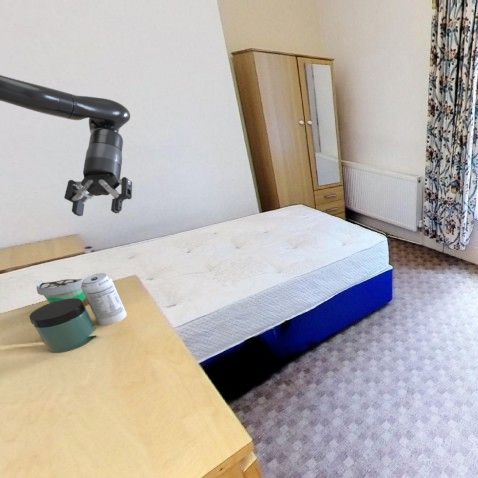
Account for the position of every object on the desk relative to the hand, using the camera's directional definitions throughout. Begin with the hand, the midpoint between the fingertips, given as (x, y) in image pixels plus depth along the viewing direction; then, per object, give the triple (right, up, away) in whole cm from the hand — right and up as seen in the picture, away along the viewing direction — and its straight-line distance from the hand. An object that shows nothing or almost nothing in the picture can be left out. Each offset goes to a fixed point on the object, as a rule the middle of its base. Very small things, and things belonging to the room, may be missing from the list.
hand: (96, 213), depth 88 cm
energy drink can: (+2, -31, +3) cm, 32 cm away
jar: (-2, -34, -4) cm, 34 cm away
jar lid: (-2, -25, -8) cm, 26 cm away
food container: (-14, -29, +7) cm, 33 cm away
